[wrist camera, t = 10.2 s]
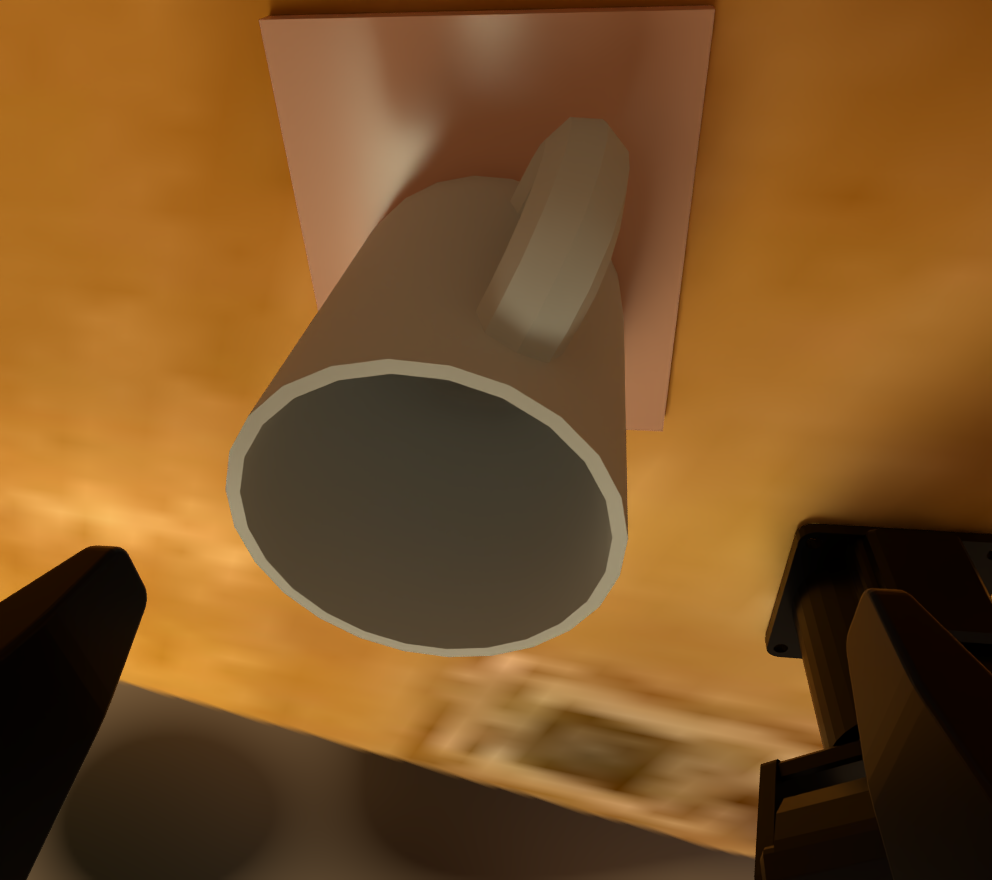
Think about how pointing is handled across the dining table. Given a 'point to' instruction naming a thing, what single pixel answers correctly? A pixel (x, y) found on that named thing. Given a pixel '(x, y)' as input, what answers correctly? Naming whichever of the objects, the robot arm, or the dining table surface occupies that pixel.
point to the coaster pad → (498, 132)
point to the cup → (456, 417)
